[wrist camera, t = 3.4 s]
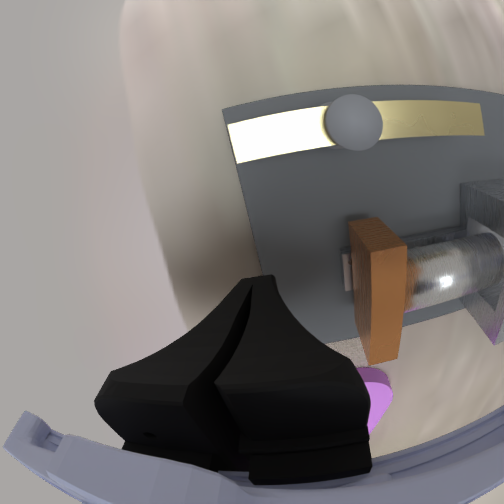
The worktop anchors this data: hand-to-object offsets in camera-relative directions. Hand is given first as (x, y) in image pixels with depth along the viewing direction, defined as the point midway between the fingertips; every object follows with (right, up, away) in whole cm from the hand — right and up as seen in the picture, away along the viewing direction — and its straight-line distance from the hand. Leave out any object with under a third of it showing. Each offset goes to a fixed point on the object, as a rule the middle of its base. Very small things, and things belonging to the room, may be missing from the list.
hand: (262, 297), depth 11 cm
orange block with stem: (+7, +1, -1) cm, 7 cm away
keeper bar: (+4, +6, -3) cm, 8 cm away
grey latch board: (+8, +4, 0) cm, 8 cm away
